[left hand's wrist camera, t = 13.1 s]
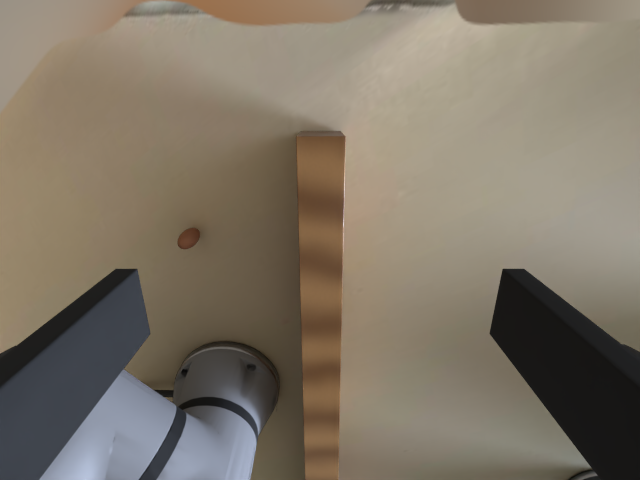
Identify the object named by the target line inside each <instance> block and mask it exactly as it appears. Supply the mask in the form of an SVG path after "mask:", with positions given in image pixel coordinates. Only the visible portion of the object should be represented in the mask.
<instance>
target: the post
mask: <svg viewBox="0 0 640 480" xmlns="http://www.w3.org/2000/svg"><path fill="white" fill-rule="evenodd" d="M345 142H346V136H345V135H344V134H343V133H342V132H341V131H301V132H300V133H299V134H298V135H297V136H296V150H297V188H298V226H299V264H300V302H301V340H302V378H303V416H304V454H305V480H338V464H339V418H340V372H341V326H342V280H343V234H344V188H345Z"/></svg>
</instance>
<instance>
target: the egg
mask: <svg viewBox="0 0 640 480" xmlns="http://www.w3.org/2000/svg"><path fill="white" fill-rule="evenodd" d="M199 237H200V232H199V230H198V229H196V228H190V229H187V230H185V231H184V232H183V233H182V234H181V235H180V236H179V238H178V246H179V247H180V248H181V249H189V248H191V247H193V246H194V245H195V244H196V243H197V242H198V240H199Z"/></svg>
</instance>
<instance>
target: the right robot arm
mask: <svg viewBox="0 0 640 480" xmlns="http://www.w3.org/2000/svg"><path fill="white" fill-rule="evenodd" d="M571 480H601V479H600V478H599V477H598V475H597V474H596V473H595V471H594V470H592V471H587V472H583V473H581V474H579V475H577V476H575V477H573V478H572V479H571Z"/></svg>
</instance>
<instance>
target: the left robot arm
mask: <svg viewBox="0 0 640 480" xmlns="http://www.w3.org/2000/svg"><path fill="white" fill-rule="evenodd" d="M149 335H150V329H149V324H148V319H147V314H146V309H145V305H144V300H143V295H142V290H141V285H140V280H139V275H138V270H137V269H115V270H114V271H113V272H111V273H110V274H109V275H107V276H106V277H105V278H104V279H102V280H101V281H100V282H98V283H97V284H96V285H95V286H93V287H92V288H91V289H89V290H88V291H87V292H86V293H84V294H83V295H82V296H80V297H79V298H78V299H77V300H75V301H74V302H73V303H71V304H70V305H69V306H67V307H66V308H65V309H64V310H62V311H61V312H60V313H58V314H57V315H56V316H55V317H53V318H52V319H51V320H49V321H48V322H47V323H46V324H44V325H43V326H42V327H40V328H39V329H38V330H37V331H35V332H34V333H33V334H31V335H30V336H29V337H27V338H26V339H25V340H24V341H22V342H21V343H20V344H18V345H17V346H14V347H12V348H10V349H8V350H6V351H4V352H3V353H1V354H0V480H250V478H251V473H252V467H253V462H254V456H255V451H256V445H257V440H258V435H259V434H260V432H261V430H262V429H263V427H264V425H265V424H266V422H267V420H268V419H269V417H270V415H271V413H272V412H273V410H274V408H275V406H276V403H277V401H278V394H279V378H278V374H277V371H276V370H275V368H274V366H273V365H272V363H271V362H270V361H269V360H268V359H267V358H266V357H265V356H264V355H263V354H261V353H260V352H259V351H257V350H255V349H253V348H251V347H249V346H246V345H243V344H240V343H235V342H215V343H210V344H207V345H204V346H201V347H199V348H197V349H196V350H194V351H193V352H192V353H190V354H189V355H188V356H187V357H186V359H185V360H184V361H183V363H182V365H181V367H180V369H179V371H178V373H177V375H176V379H175V383H174V390H153V389H151V388H150V387H148V386H147V385H145V384H144V383H142V382H141V381H139V380H138V379H137V378H135V377H134V376H132V375H131V374H130V373H128V372H127V371H125V370H124V368H125V366H126V365H127V364H128V362H129V361H130V360H131V358H132V357H133V356H134V355H135V353H136V352H137V351H138V349H139V348H140V347H141V345H142V344H143V343H144V341H145V340H146V339H147V337H148V336H149ZM490 335H491V336H492V337H493V339H494V340H495V341H496V343H497V344H498V345H499V347H500V348H501V349H502V351H503V352H504V353H505V355H506V356H507V357H508V358H509V360H510V361H511V362H512V364H513V365H514V366H515V368H516V369H517V370H518V372H519V373H520V374H521V376H522V377H523V378H524V379H525V381H526V382H527V383H528V385H529V386H530V387H531V389H532V390H533V391H534V393H535V394H536V395H537V397H538V398H539V399H540V401H541V402H542V403H543V404H544V406H545V407H546V408H547V410H548V411H549V412H550V414H551V415H552V416H553V418H554V419H555V420H556V422H557V423H558V424H559V425H560V427H561V428H562V429H563V431H564V432H565V433H566V435H567V436H568V437H569V439H570V440H571V441H572V443H573V444H574V445H575V446H576V448H577V449H578V450H579V452H580V453H581V454H582V456H583V457H584V458H585V460H586V461H587V462H588V464H589V465H590V466H591V467H592V469H593V470H594V471H595V473H596V474H597V475H598V477H599V478H600V479H601V480H640V352H638V351H637V350H635V349H633V348H631V347H629V346H627V345H625V344H620V343H619V342H618V341H616V340H615V339H614V338H613V337H611V336H610V335H609V334H607V333H606V332H605V331H603V330H602V329H601V328H600V327H598V326H597V325H596V324H594V323H593V322H592V321H591V320H589V319H588V318H587V317H585V316H584V315H583V314H582V313H580V312H579V311H578V310H576V309H575V308H574V307H573V306H571V305H570V304H569V303H567V302H566V301H565V300H563V299H562V298H561V297H560V296H558V295H557V294H556V293H554V292H553V291H552V290H551V289H549V288H548V287H547V286H545V285H544V284H543V283H542V282H540V281H539V280H538V279H536V278H535V277H534V276H533V275H531V274H530V273H529V272H527V271H526V270H525V269H503V270H502V275H501V280H500V285H499V290H498V295H497V300H496V305H495V309H494V314H493V319H492V324H491V329H490ZM165 397H173V403H172V402H170V401H169V400H167V399H166V398H165ZM276 411H277V408H276Z"/></svg>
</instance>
